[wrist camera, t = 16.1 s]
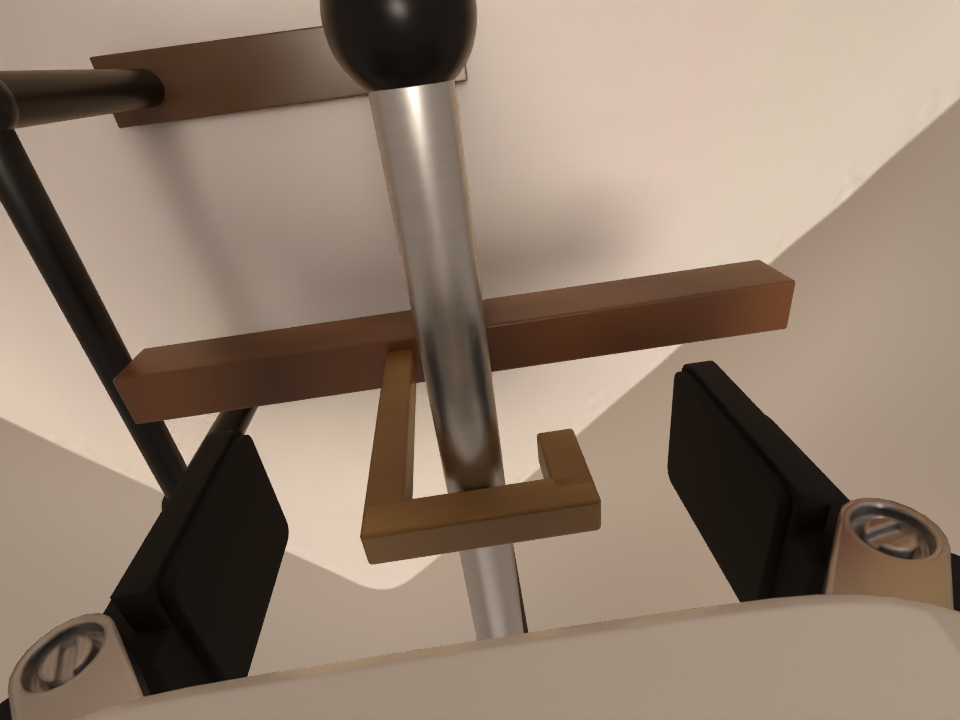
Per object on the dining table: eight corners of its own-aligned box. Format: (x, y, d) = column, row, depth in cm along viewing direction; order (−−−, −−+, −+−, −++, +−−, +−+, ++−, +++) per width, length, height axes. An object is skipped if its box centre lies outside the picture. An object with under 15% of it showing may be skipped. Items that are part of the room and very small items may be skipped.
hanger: (163, 389, 18) (-43, 645, 10) (142, 348, 17) (-100, 590, 9) (752, 303, 18) (1000, 484, 10) (759, 258, 17) (1032, 417, 9)
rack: (239, 391, 34) (-25, 845, 14) (102, 57, 25) (-1195, 31, 5) (497, 354, 35) (590, 749, 15) (458, 9, 25) (565, -196, 5)
